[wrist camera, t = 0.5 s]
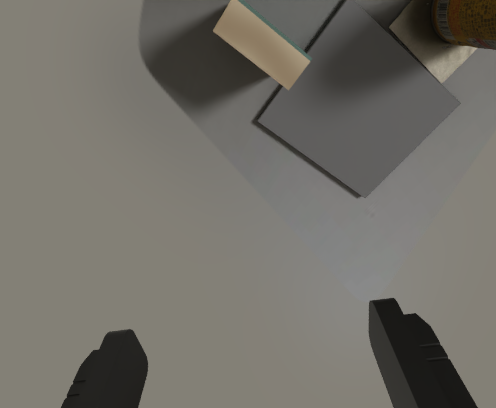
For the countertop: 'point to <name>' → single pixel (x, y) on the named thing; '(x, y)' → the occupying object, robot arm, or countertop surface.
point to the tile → (262, 43)
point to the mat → (358, 102)
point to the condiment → (446, 31)
